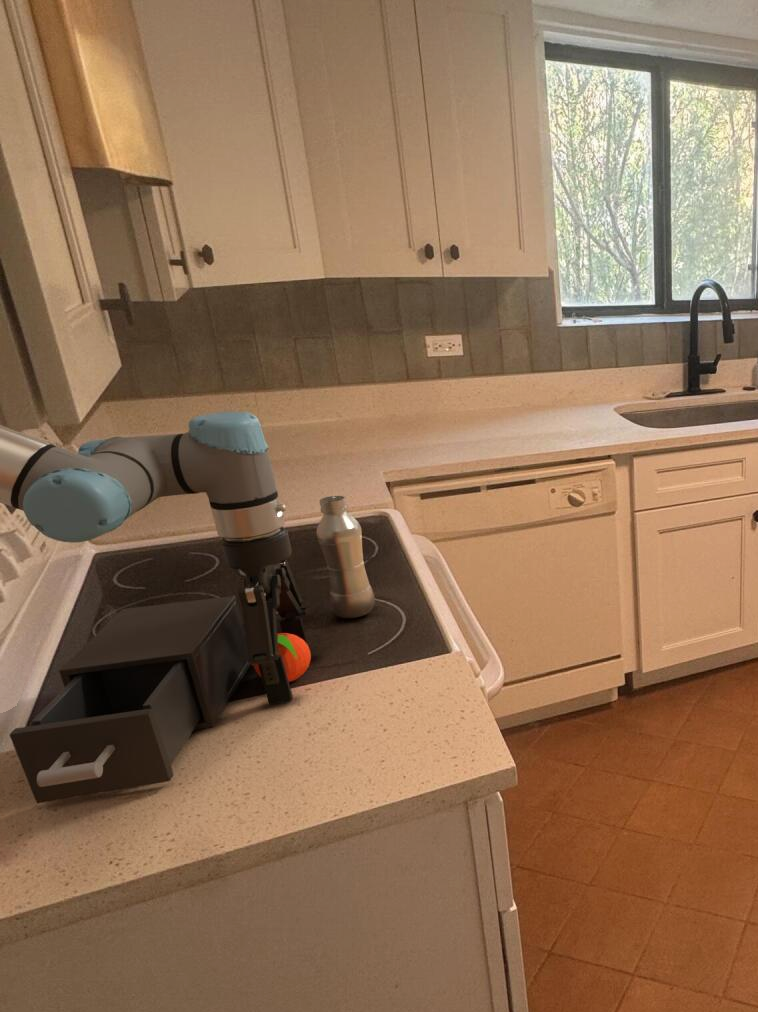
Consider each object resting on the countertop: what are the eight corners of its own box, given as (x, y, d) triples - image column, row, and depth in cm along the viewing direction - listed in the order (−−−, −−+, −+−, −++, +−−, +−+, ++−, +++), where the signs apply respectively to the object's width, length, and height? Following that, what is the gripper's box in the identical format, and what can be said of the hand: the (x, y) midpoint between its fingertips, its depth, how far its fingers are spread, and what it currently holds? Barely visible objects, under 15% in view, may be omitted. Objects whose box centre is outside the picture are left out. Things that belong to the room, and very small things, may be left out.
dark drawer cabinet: (213, 727, 99) (192, 652, 95) (86, 746, 95) (58, 670, 91) (252, 661, 115) (235, 595, 111) (144, 676, 111) (122, 608, 107)
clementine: (329, 678, 110) (319, 632, 107) (279, 700, 104) (267, 653, 102) (299, 663, 114) (288, 619, 111) (249, 684, 108) (237, 638, 106)
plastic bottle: (361, 602, 133) (338, 490, 126) (386, 611, 130) (364, 496, 123) (325, 617, 128) (299, 501, 121) (350, 626, 125) (325, 508, 118)
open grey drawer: (152, 810, 83) (128, 739, 80) (10, 835, 79) (-20, 762, 76) (217, 704, 102) (200, 644, 99) (105, 720, 99) (83, 659, 96)
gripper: (261, 560, 92) (302, 719, 100) (304, 503, 113) (335, 637, 121) (188, 569, 90) (235, 730, 98) (246, 508, 111) (281, 645, 119)
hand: (291, 679), depth 109 cm, fingers open, 11 cm apart
